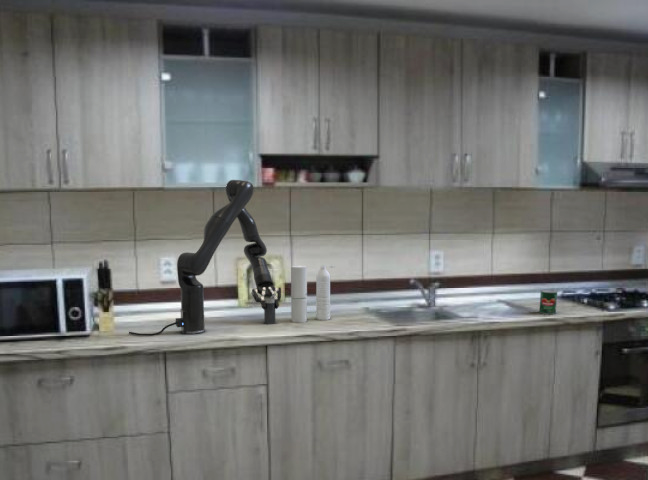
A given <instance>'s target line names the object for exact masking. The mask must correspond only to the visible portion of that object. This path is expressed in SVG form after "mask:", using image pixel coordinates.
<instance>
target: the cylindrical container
mask: <svg viewBox="0 0 648 480" xmlns="http://www.w3.org/2000/svg"><path fill="white" fill-rule="evenodd" d="M290 296H291V297H290V317H291V318H290V321H291V322H293V323H305V322H307V321H308V266H307V265H291V266H290Z"/></svg>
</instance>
